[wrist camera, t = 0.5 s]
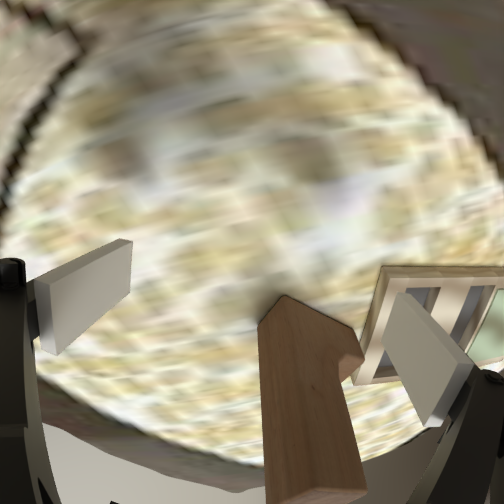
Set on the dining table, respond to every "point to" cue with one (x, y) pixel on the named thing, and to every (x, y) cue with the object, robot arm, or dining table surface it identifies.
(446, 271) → the board
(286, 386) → the wooden block
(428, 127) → the dining table surface
